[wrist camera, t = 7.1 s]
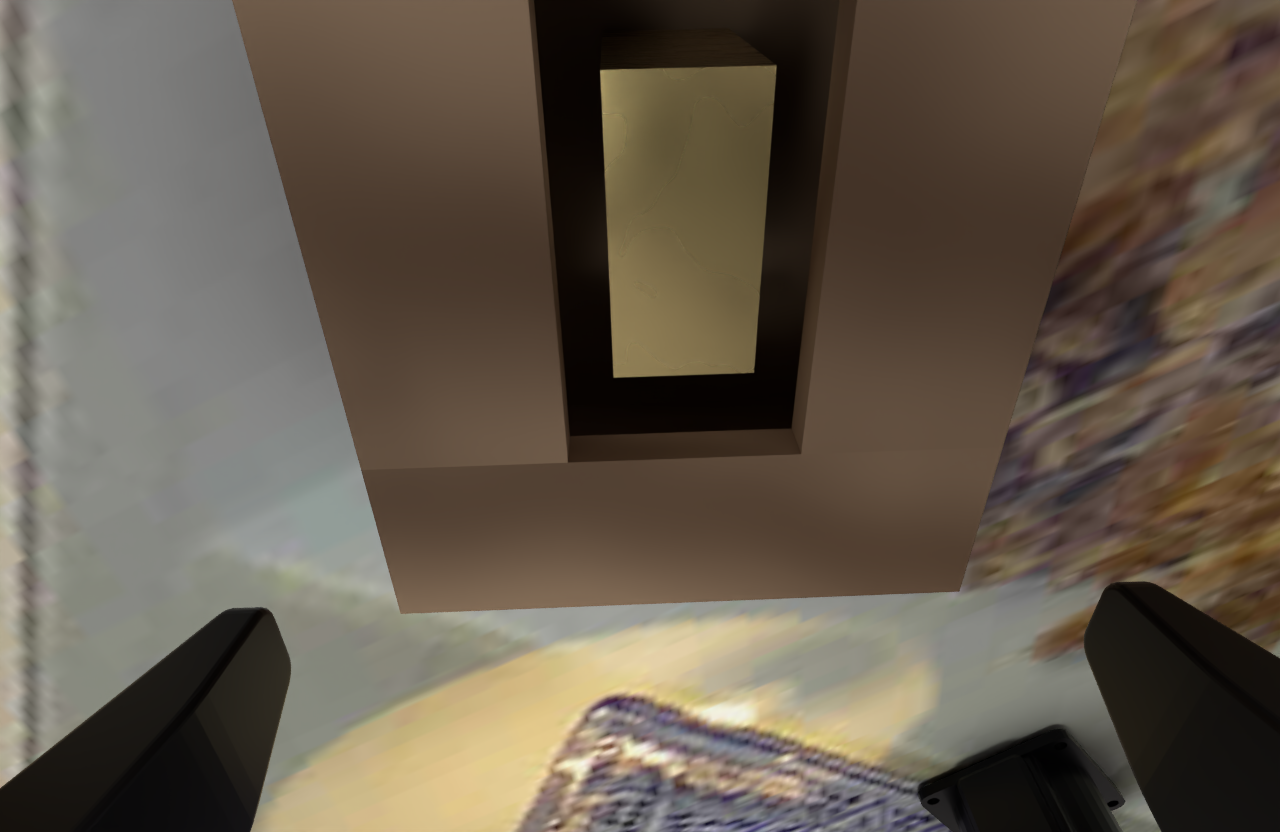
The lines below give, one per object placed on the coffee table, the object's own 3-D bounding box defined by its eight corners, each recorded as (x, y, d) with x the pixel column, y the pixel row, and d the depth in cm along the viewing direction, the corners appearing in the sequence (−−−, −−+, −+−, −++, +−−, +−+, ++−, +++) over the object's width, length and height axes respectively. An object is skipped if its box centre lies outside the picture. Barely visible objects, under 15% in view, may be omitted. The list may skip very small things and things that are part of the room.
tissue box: (859, 404, 21) (959, 591, 15) (460, 418, 20) (400, 614, 15) (972, -273, 13) (1271, -444, 7) (339, -265, 13) (112, -433, 7)
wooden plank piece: (718, 267, 17) (753, 373, 13) (612, 270, 17) (613, 377, 13) (728, 28, 15) (776, 65, 11) (601, 31, 15) (600, 69, 11)
